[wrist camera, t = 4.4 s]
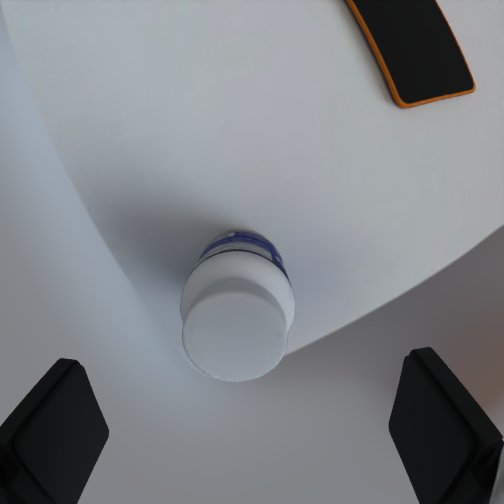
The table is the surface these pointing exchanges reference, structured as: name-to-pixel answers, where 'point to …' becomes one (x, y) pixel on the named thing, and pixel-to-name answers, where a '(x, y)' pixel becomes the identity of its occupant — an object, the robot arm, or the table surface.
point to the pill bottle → (237, 308)
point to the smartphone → (414, 49)
